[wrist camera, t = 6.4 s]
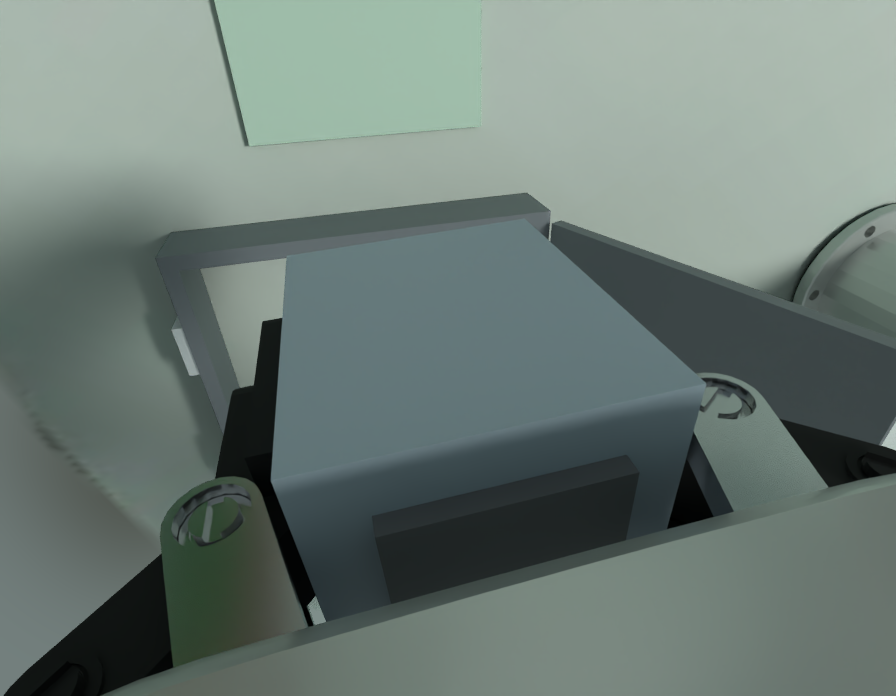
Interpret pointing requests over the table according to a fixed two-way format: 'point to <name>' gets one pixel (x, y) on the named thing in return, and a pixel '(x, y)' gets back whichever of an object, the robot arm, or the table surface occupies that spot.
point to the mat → (352, 66)
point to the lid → (749, 336)
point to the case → (293, 237)
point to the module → (466, 414)
